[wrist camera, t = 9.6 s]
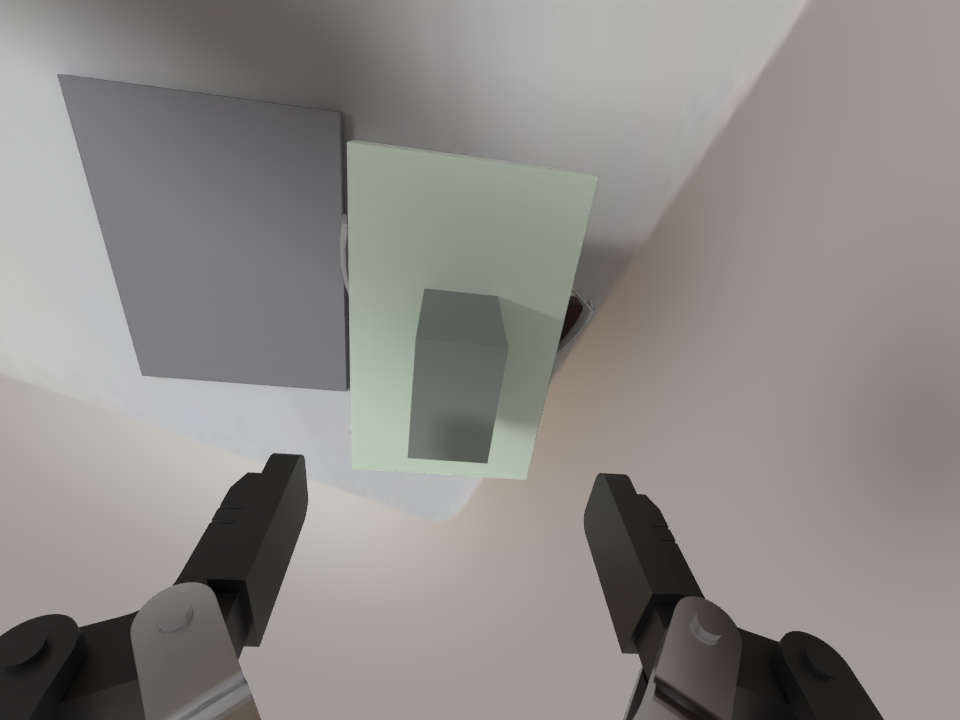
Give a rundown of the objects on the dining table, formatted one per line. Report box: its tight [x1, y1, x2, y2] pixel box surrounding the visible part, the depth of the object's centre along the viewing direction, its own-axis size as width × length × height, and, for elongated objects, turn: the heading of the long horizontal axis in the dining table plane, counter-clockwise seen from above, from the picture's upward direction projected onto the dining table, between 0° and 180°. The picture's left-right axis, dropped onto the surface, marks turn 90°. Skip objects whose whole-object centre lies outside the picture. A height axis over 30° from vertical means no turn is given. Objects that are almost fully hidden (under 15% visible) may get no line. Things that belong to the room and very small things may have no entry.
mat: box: [57, 74, 348, 391], centre depth 28 cm, size 14×18×1 cm
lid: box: [347, 140, 599, 480], centre depth 18 cm, size 9×15×6 cm, turn 173°
